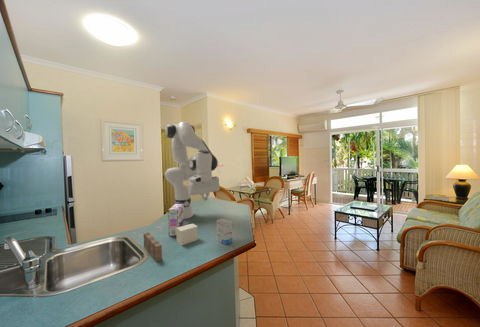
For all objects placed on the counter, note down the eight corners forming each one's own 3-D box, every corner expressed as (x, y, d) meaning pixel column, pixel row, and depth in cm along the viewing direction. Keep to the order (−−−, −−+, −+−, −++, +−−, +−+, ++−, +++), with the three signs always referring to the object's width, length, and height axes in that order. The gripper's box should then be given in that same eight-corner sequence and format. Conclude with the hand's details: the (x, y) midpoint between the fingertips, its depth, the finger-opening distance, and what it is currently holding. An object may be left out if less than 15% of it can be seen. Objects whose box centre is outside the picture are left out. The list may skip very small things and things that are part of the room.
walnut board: (144, 246, 104) (143, 233, 103) (148, 244, 105) (148, 232, 105) (156, 261, 89) (156, 246, 89) (162, 259, 91) (161, 245, 90)
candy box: (178, 236, 116) (177, 209, 115) (168, 236, 115) (167, 209, 115) (184, 227, 129) (184, 203, 128) (176, 227, 129) (175, 203, 128)
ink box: (232, 242, 107) (232, 221, 106) (226, 245, 104) (225, 223, 103) (223, 237, 113) (222, 217, 113) (216, 240, 110) (215, 219, 109)
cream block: (176, 241, 109) (176, 227, 108) (192, 236, 115) (192, 223, 115) (181, 245, 104) (180, 231, 104) (197, 239, 111) (197, 226, 110)
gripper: (215, 175, 125) (216, 196, 126) (186, 178, 111) (187, 202, 112) (221, 176, 120) (221, 198, 121) (191, 179, 107) (192, 204, 107)
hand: (204, 200), depth 117 cm, fingers closed
